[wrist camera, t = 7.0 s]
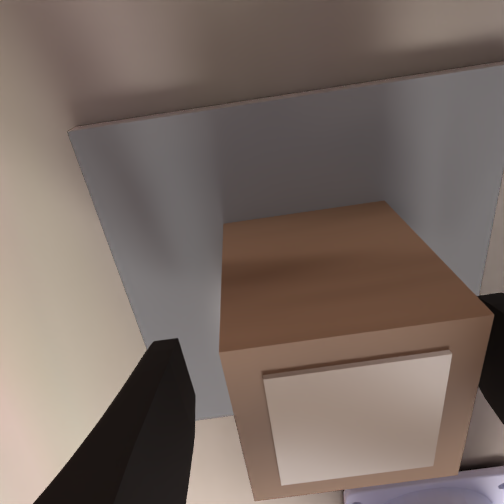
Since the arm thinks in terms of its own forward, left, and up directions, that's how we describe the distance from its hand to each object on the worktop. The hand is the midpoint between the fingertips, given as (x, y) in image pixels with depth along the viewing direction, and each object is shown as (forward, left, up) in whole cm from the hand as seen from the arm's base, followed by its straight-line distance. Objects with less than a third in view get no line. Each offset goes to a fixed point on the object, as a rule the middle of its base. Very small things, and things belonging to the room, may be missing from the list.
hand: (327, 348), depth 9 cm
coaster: (0, 0, -3) cm, 3 cm away
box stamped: (0, 0, -3) cm, 3 cm away
